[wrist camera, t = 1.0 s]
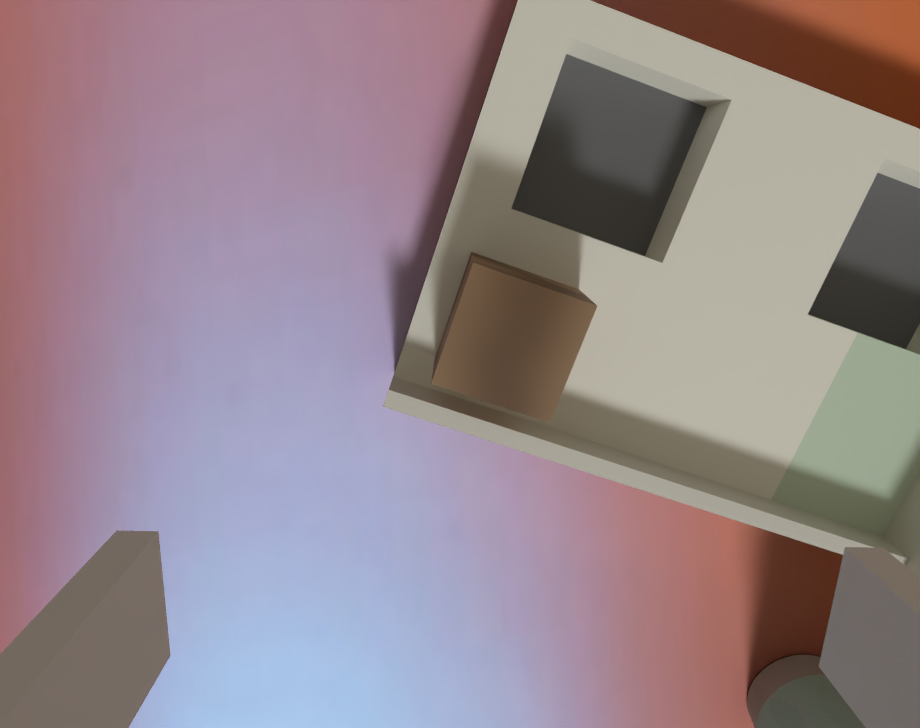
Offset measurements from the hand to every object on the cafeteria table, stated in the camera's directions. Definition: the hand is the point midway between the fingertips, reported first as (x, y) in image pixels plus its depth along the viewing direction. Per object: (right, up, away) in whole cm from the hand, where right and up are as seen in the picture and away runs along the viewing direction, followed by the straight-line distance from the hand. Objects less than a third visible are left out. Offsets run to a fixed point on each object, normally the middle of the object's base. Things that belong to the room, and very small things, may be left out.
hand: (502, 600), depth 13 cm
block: (+1, +6, +17) cm, 18 cm away
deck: (+11, +8, +19) cm, 24 cm away
